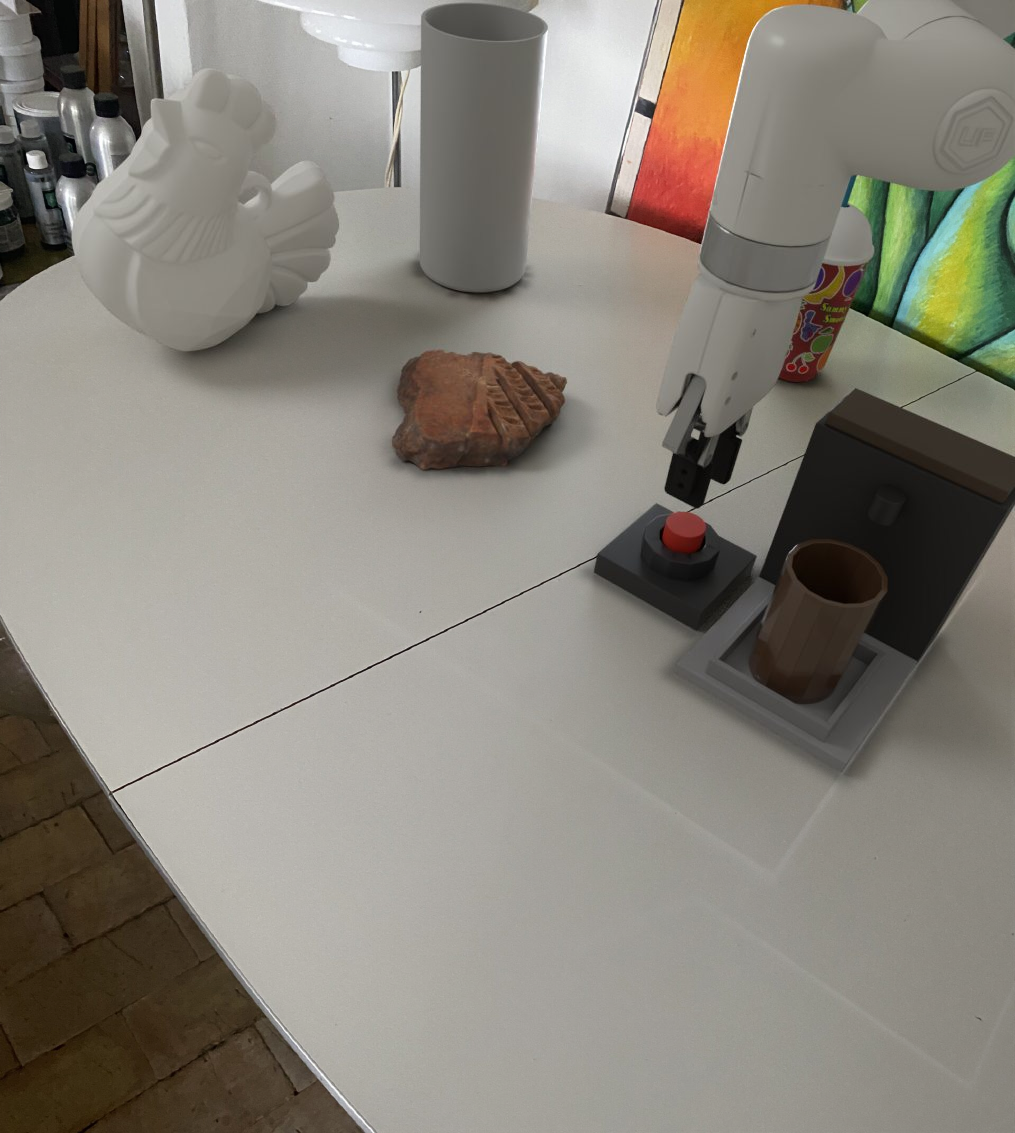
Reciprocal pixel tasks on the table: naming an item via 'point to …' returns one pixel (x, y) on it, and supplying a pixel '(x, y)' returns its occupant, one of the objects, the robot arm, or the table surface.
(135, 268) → the decorative rooster
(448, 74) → the cylinder vase
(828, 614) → the brown cup
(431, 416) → the pottery shard
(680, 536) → the button
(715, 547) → the black button housing
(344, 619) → the table surface
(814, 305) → the smoothie
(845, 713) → the coffee maker
